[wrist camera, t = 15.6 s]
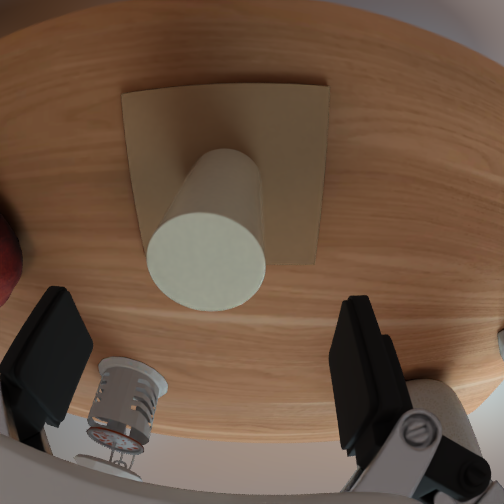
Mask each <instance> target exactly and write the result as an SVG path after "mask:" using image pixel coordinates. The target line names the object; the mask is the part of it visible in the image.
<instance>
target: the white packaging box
mask: <svg viewBox="0 0 504 504" xmlns="http://www.w3.org/2000/svg"><path fill="white" fill-rule="evenodd" d="M498 342H499V350H500V355H501V357H502V359H503V361H504V330H503V331H501V332H499V333H498Z"/></svg>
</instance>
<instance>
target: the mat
mask: <svg viewBox="0 0 504 504" xmlns="http://www.w3.org/2000/svg"><path fill="white" fill-rule="evenodd" d="M121 101H122V112H123V122H124V131H125V139H126V147H127V155H128V162H129V169H130V176H131V182H132V189H133V195H134V201H135V206H136V212H137V217H138V223H139V228H140V233H141V238H142V243H143V247H144V252H145V257H146V261H147V247H148V244H149V241H150V239H151V237H152V235H153V233H154V231H155V230H156V228H157V226H158V224H159V222H160V221H161V219H162V217H163V215H164V214H165V212H166V210H167V208H168V207H169V205H170V203H171V201H172V200H173V198H174V196H175V195H176V193H177V191H178V189H179V188H180V186H181V184H182V183H183V181H184V179H185V178H186V176H187V175H188V173H189V171H190V170H191V168H192V166H193V165H194V163H195V162H196V161H197V160H198V159H199V158H200V157H201V156H202V155H204V154H205V153H207V152H209V151H212V150H216V149H223V148H225V149H234V150H237V151H240V152H242V153H244V154H245V155H247V156H248V157H249V158H251V159H252V160H253V161H254V163H255V164H256V165H257V167H258V169H259V171H260V174H261V178H262V191H263V213H264V236H265V260H266V265H315V259H316V251H317V243H318V235H319V226H320V217H321V207H322V197H323V187H324V176H325V164H326V151H327V137H328V121H329V102H330V86H323V85H310V84H292V83H218V84H200V85H187V86H176V87H166V88H157V89H149V90H142V91H135V92H129V93H123V94H121Z"/></svg>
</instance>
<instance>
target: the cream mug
mask: <svg viewBox="0 0 504 504" xmlns="http://www.w3.org/2000/svg"><path fill="white" fill-rule="evenodd" d="M147 266H148V269H149V273H150V275H151V277H152V279H153V281H154V282H155V284H156V285H157V286H158V288H159V289H160V290H161V291H162V292H163V293H164V294H165V295H167V296H168V297H169V298H170V299H172V300H174V301H175V302H177V303H179V304H181V305H183V306H186V307H189V308H192V309H196V310H201V311H221V310H226V309H231V308H233V307H236V306H238V305H240V304H242V303H244V302H246V301H247V300H248V299H250V298H251V297H252V296H253V295H254V294H255V293H256V292H257V290H258V289H259V287H260V286H261V284H262V282H263V279H264V276H265V270H266V260H265V236H264V213H263V191H262V178H261V174H260V171H259V169H258V167H257V165H256V164H255V163H254V161H253V160H252V159H251V158H249V157H248V156H247V155H245V154H244V153H242V152H240V151H237V150H234V149H225V148H223V149H216V150H212V151H209V152H207V153H205V154H204V155H202V156H201V157H200V158H199V159H198V160H197V161H196V162H195V163H194V165H193V166H192V168H191V170H190V171H189V173H188V175H187V176H186V178H185V179H184V181H183V183H182V184H181V186H180V188H179V189H178V191H177V193H176V195H175V196H174V198H173V200H172V201H171V203H170V205H169V207H168V208H167V210H166V212H165V214H164V215H163V217H162V219H161V221H160V222H159V224H158V226H157V228H156V230H155V231H154V233H153V235H152V237H151V239H150V241H149V244H148V247H147Z"/></svg>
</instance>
